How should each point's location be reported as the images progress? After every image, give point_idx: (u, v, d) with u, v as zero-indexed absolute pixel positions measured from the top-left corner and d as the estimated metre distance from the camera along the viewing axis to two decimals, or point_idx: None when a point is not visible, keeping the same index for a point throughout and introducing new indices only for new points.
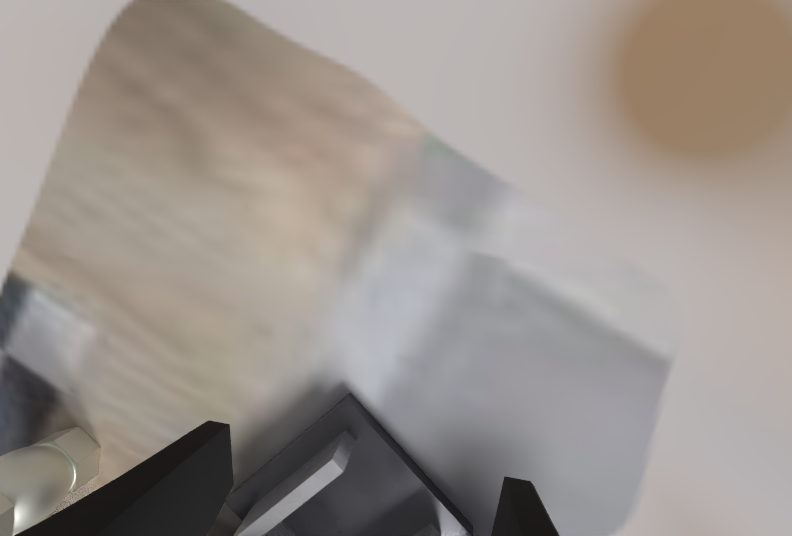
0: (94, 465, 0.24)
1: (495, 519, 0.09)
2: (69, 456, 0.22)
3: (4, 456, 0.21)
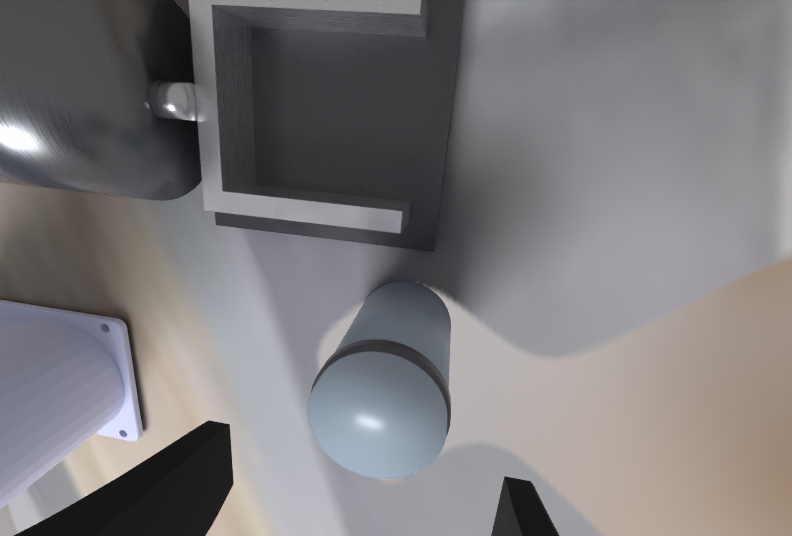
0: None
1: (495, 519, 0.09)
2: None
3: None
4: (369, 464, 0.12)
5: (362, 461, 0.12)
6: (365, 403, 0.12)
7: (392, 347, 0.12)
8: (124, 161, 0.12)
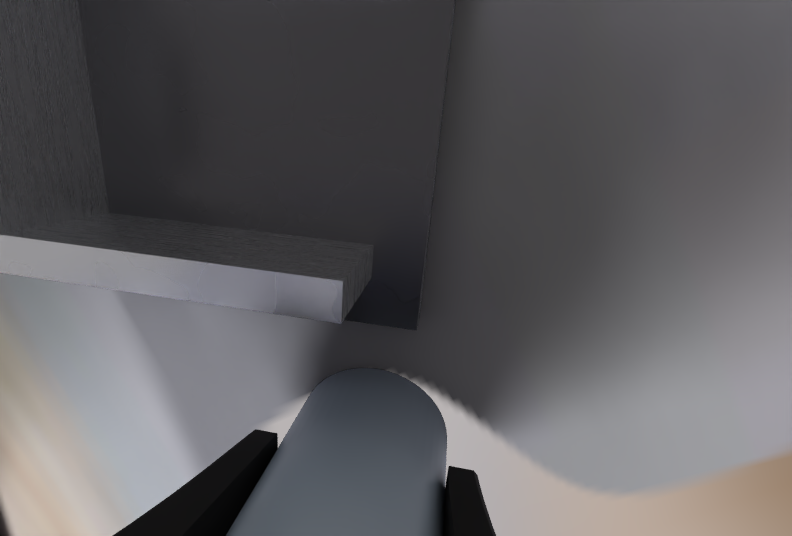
0: None
1: None
2: None
3: None
4: None
5: None
6: None
7: None
8: None
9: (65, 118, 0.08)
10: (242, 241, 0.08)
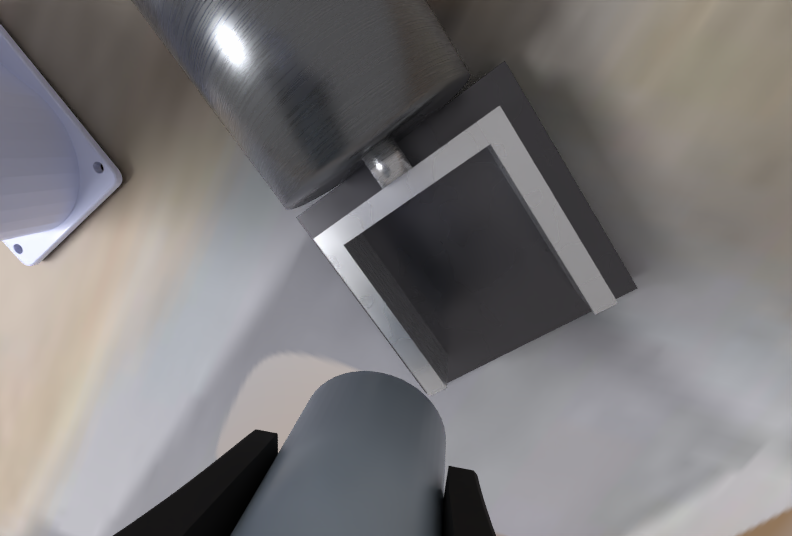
0: None
1: None
2: None
3: None
4: None
5: None
6: None
7: None
8: (307, 189, 0.11)
9: None
10: (412, 317, 0.16)
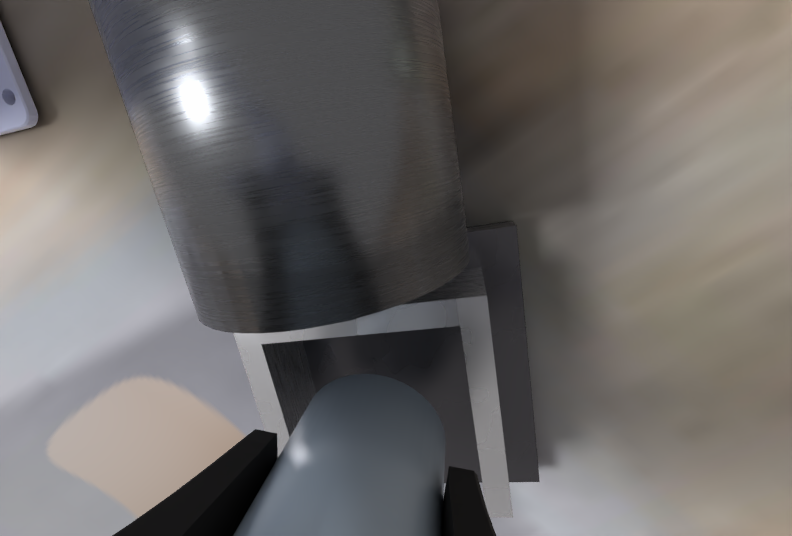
0: None
1: None
2: None
3: None
4: None
5: None
6: None
7: None
8: None
9: None
10: None
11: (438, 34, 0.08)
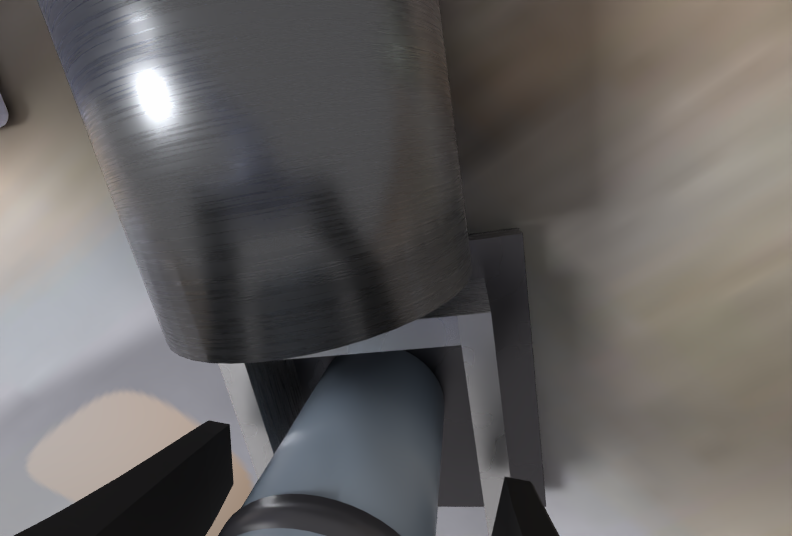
0: None
1: (495, 519, 0.09)
2: None
3: None
4: None
5: None
6: None
7: (342, 522, 0.07)
8: None
9: None
10: None
11: (436, 19, 0.07)
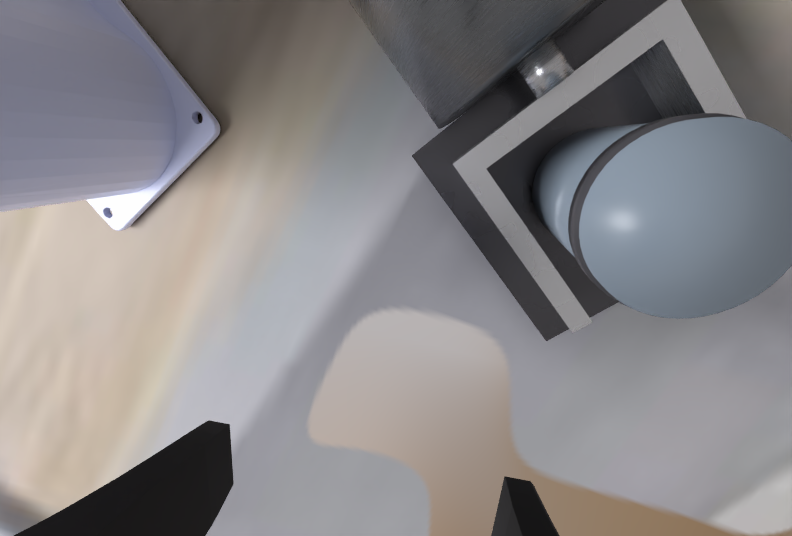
0: None
1: (495, 519, 0.09)
2: None
3: None
4: (698, 296, 0.09)
5: (686, 295, 0.09)
6: (673, 201, 0.08)
7: (676, 117, 0.08)
8: (479, 90, 0.10)
9: None
10: None
11: None
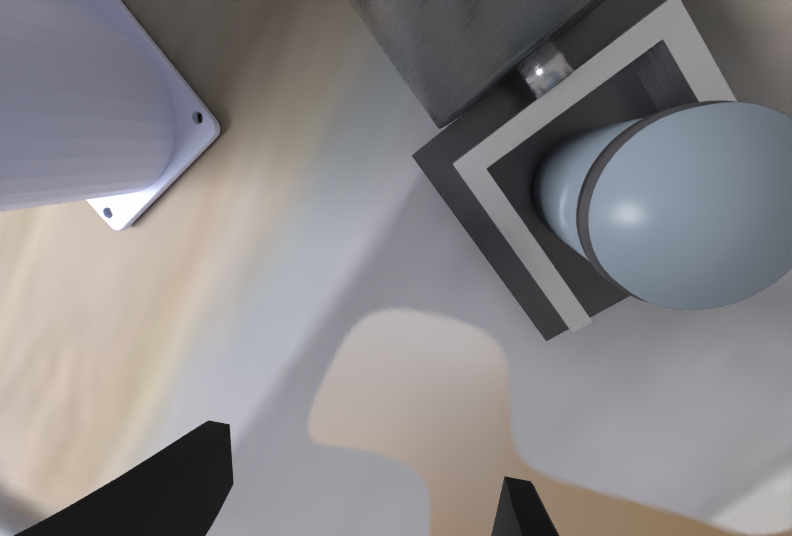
0: None
1: (495, 519, 0.09)
2: None
3: None
4: (713, 286, 0.09)
5: (701, 285, 0.09)
6: (683, 189, 0.08)
7: (682, 106, 0.08)
8: (479, 89, 0.10)
9: None
10: None
11: None
